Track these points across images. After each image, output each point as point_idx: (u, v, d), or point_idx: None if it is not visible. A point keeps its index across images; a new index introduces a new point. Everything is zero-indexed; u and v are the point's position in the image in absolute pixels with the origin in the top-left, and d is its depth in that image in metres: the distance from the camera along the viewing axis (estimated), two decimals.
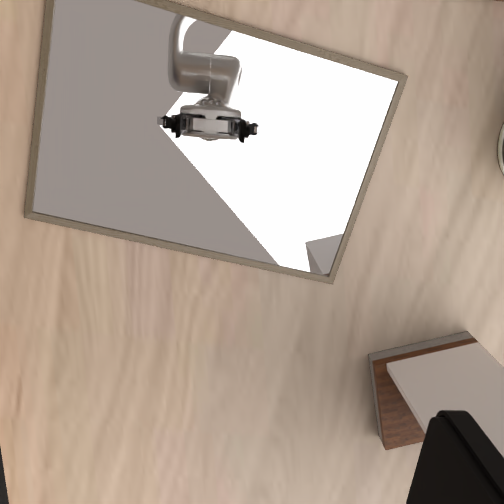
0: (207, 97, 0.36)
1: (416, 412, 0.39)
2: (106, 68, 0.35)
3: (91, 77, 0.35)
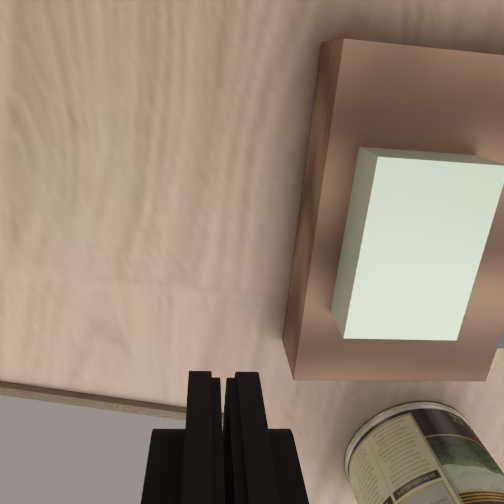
0: None
1: None
2: None
3: None
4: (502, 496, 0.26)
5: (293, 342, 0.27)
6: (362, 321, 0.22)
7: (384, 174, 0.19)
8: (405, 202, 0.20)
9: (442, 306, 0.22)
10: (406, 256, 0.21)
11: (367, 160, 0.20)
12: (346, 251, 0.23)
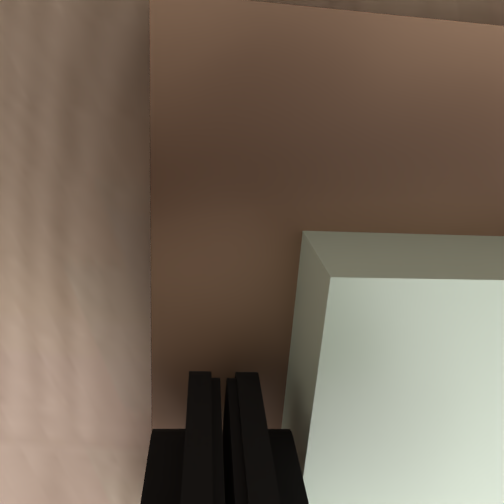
0: None
1: None
2: None
3: None
4: None
5: None
6: None
7: (348, 314, 0.08)
8: (401, 368, 0.09)
9: None
10: (406, 466, 0.10)
11: (315, 270, 0.09)
12: None
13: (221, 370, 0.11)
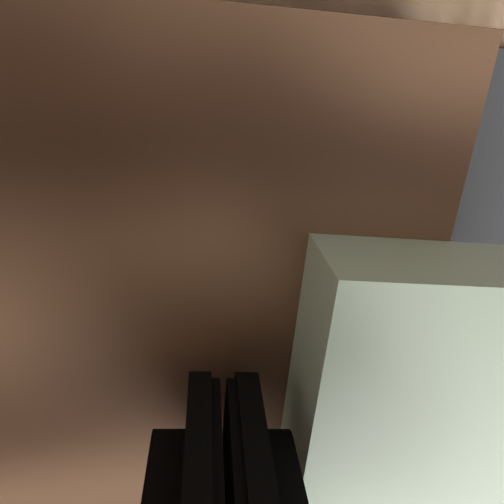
0: None
1: None
2: None
3: None
4: None
5: None
6: None
7: (355, 317, 0.08)
8: (404, 373, 0.09)
9: None
10: (407, 471, 0.10)
11: (322, 273, 0.09)
12: None
13: (8, 370, 0.11)
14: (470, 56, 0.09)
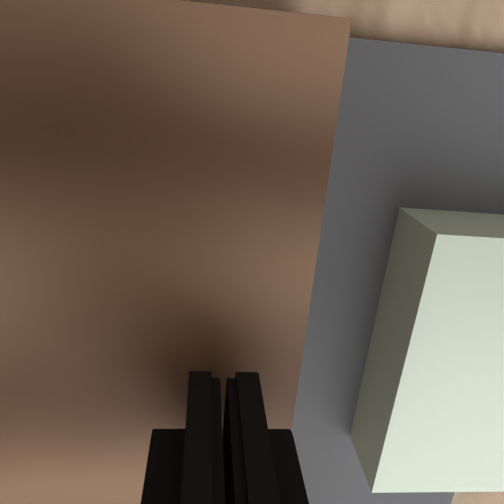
0: None
1: None
2: None
3: None
4: None
5: None
6: None
7: None
8: None
9: None
10: None
11: None
12: None
13: None
14: (319, 47, 0.09)
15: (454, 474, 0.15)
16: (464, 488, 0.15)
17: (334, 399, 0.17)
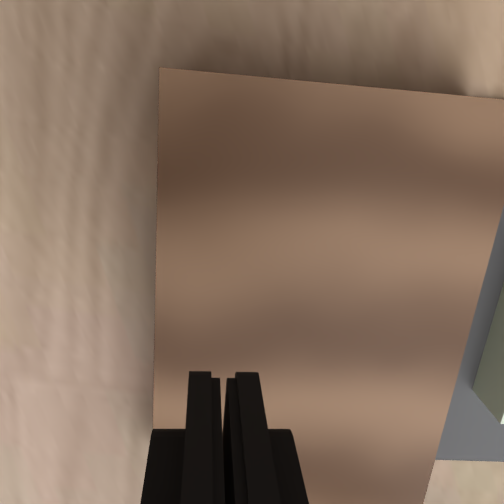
0: None
1: None
2: None
3: None
4: None
5: None
6: None
7: None
8: None
9: None
10: None
11: None
12: None
13: (202, 313, 0.17)
14: None
15: None
16: None
17: (463, 359, 0.22)
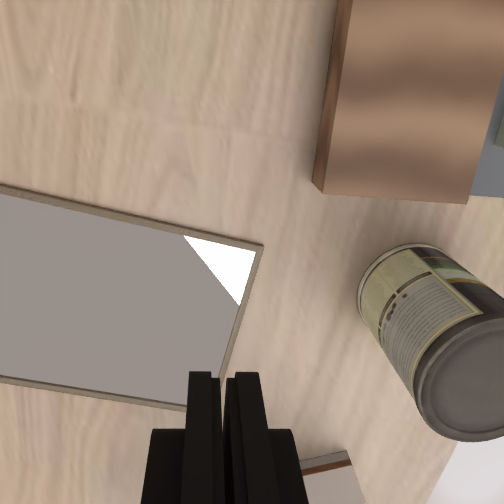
0: (78, 268, 0.40)
1: None
2: None
3: None
4: (477, 282, 0.35)
5: (322, 167, 0.36)
6: None
7: None
8: None
9: None
10: None
11: None
12: None
13: (367, 61, 0.32)
14: None
15: None
16: None
17: (490, 124, 0.38)
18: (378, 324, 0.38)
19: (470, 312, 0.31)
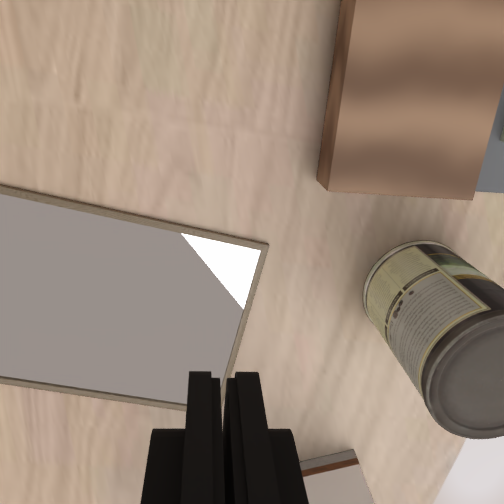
0: (83, 268, 0.40)
1: None
2: None
3: None
4: (484, 278, 0.35)
5: (327, 165, 0.36)
6: None
7: None
8: None
9: None
10: None
11: None
12: None
13: (371, 57, 0.32)
14: None
15: None
16: None
17: (495, 119, 0.38)
18: (385, 322, 0.38)
19: (478, 308, 0.30)
